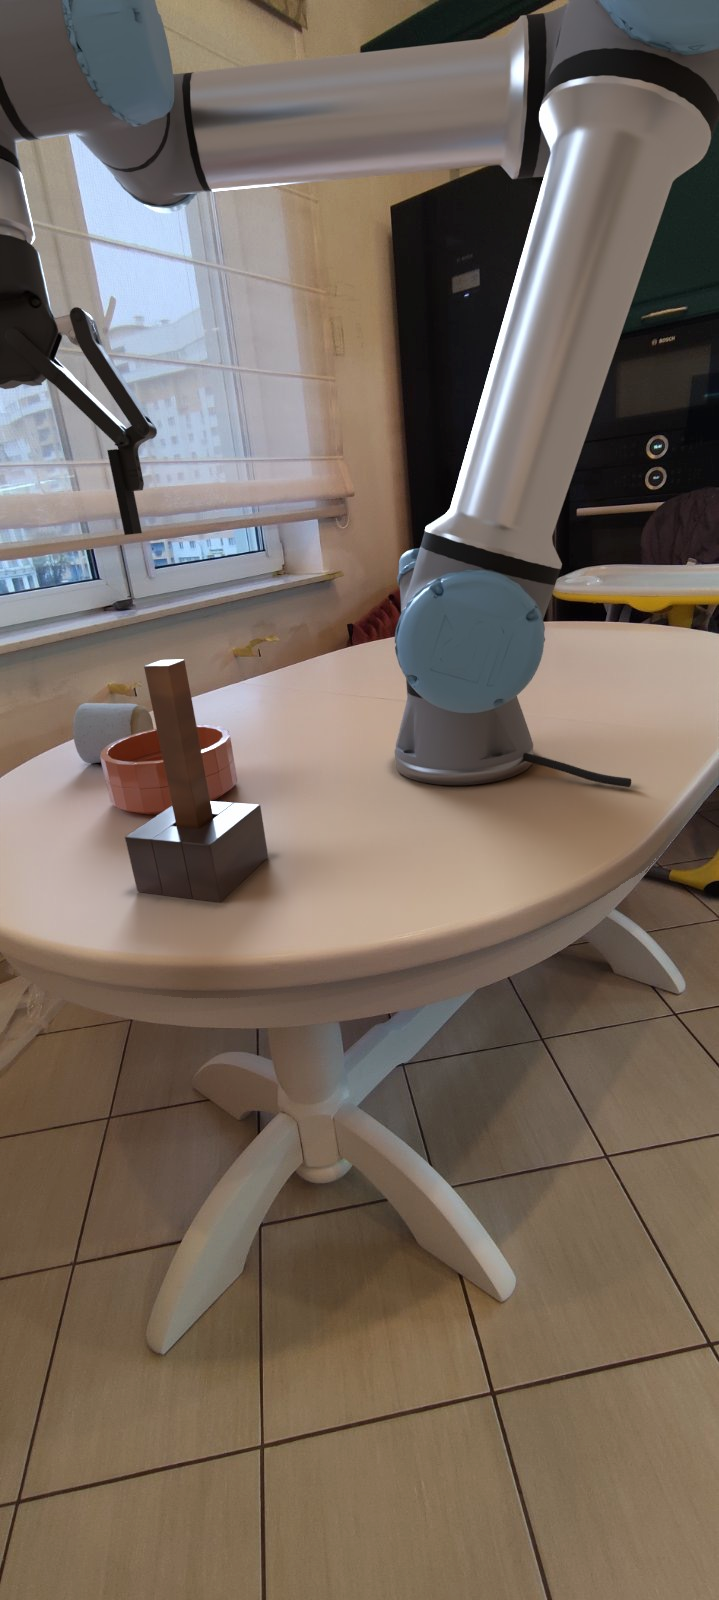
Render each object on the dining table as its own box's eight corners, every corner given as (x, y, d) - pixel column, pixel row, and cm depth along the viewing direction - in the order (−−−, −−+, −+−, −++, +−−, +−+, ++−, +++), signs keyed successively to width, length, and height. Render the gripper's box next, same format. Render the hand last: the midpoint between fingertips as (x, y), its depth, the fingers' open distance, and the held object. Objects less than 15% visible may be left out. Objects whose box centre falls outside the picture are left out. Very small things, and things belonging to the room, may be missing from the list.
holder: (268, 856, 63) (260, 804, 61) (220, 902, 56) (209, 844, 55) (191, 849, 66) (181, 798, 64) (137, 892, 59) (124, 836, 57)
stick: (222, 869, 62) (184, 659, 55) (209, 881, 60) (167, 665, 53) (201, 866, 63) (161, 659, 56) (186, 878, 61) (143, 666, 54)
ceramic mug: (142, 766, 90) (130, 706, 87) (79, 771, 91) (65, 711, 88) (168, 742, 100) (157, 687, 97) (110, 746, 101) (98, 692, 98)
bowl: (259, 775, 83) (252, 725, 81) (193, 823, 72) (182, 766, 70) (161, 770, 88) (152, 723, 86) (85, 814, 77) (72, 761, 75)
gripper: (160, 243, 58) (206, 526, 66) (-145, 278, 58) (-63, 554, 66) (133, 207, 51) (189, 528, 59) (-213, 247, 51) (-112, 559, 59)
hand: (55, 542), depth 63 cm, fingers open, 13 cm apart
